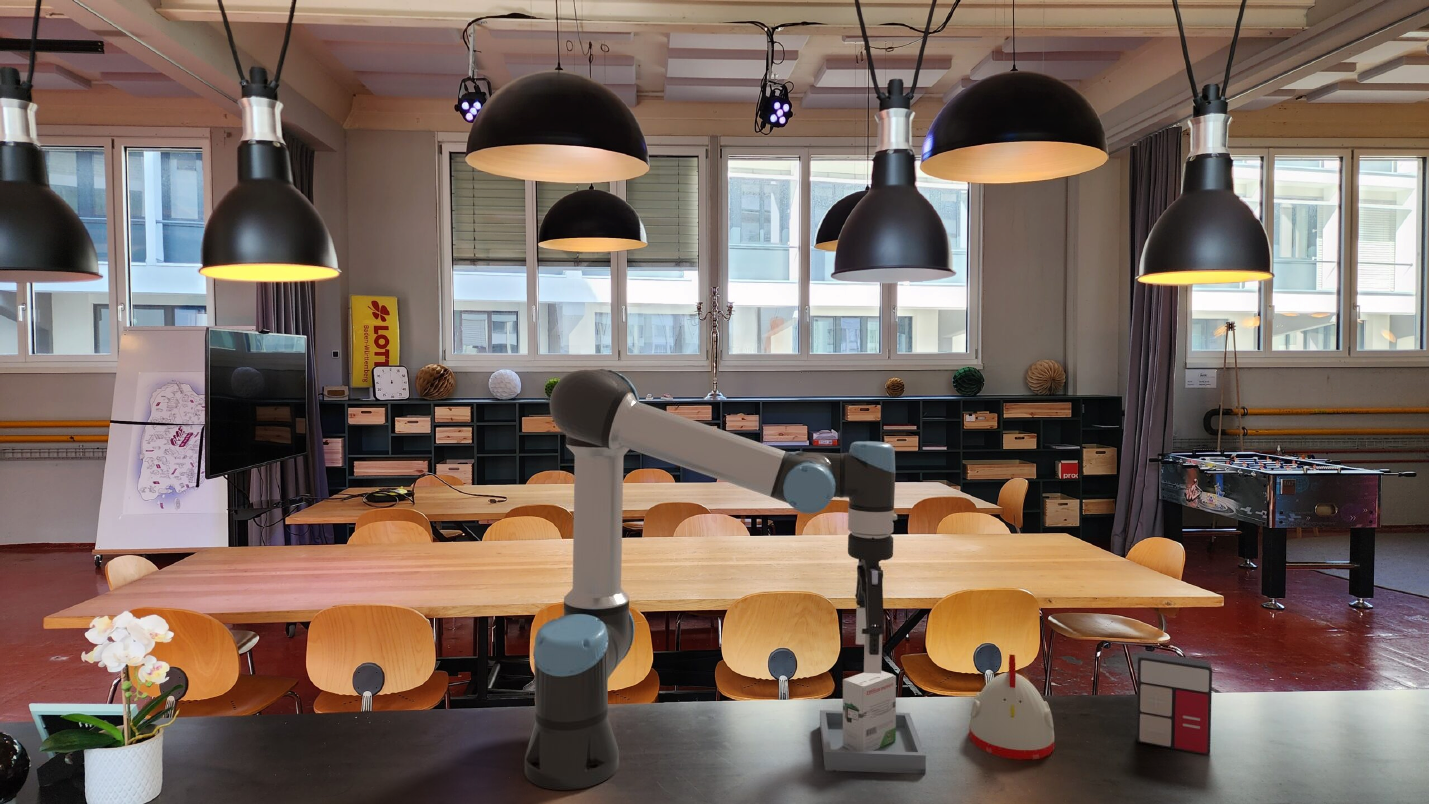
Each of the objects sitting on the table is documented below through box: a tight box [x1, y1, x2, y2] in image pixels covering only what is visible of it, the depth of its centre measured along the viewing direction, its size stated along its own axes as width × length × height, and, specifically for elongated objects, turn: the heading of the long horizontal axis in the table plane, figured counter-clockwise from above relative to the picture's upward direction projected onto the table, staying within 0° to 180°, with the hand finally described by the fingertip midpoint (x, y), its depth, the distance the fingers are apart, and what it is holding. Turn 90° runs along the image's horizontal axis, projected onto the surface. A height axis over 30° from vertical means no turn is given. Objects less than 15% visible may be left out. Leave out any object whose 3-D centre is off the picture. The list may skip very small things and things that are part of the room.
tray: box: [819, 709, 927, 775], centre depth 138 cm, size 16×16×3 cm
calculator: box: [1135, 651, 1213, 756], centre depth 138 cm, size 11×4×15 cm, turn 62°
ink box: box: [842, 670, 897, 751], centre depth 138 cm, size 9×5×12 cm, turn 127°
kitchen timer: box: [968, 653, 1055, 760], centre depth 141 cm, size 14×14×15 cm
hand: (867, 657), depth 137 cm, fingers open, 13 cm apart
